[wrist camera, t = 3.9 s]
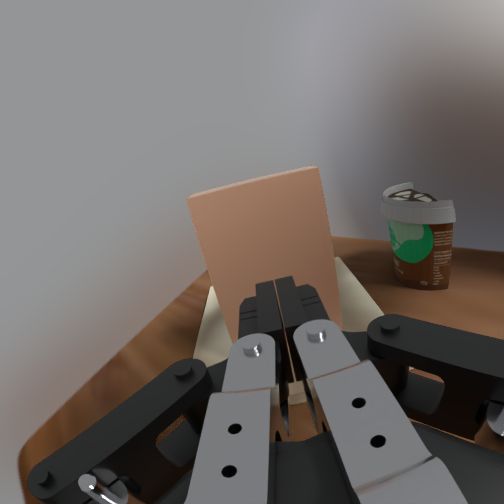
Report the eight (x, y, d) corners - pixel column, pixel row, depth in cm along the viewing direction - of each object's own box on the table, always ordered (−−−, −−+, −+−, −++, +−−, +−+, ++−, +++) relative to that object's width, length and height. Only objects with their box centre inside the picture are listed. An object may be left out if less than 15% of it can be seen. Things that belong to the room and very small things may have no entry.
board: (339, 264, 39) (338, 256, 39) (414, 368, 19) (415, 357, 18) (213, 294, 41) (210, 286, 40) (186, 419, 20) (180, 409, 19)
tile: (336, 322, 25) (310, 165, 21) (343, 338, 23) (318, 167, 19) (239, 344, 26) (193, 193, 22) (239, 362, 24) (186, 199, 19)
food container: (376, 260, 38) (367, 188, 35) (415, 252, 36) (410, 181, 33) (402, 307, 26) (398, 210, 23) (453, 294, 25) (455, 200, 22)
